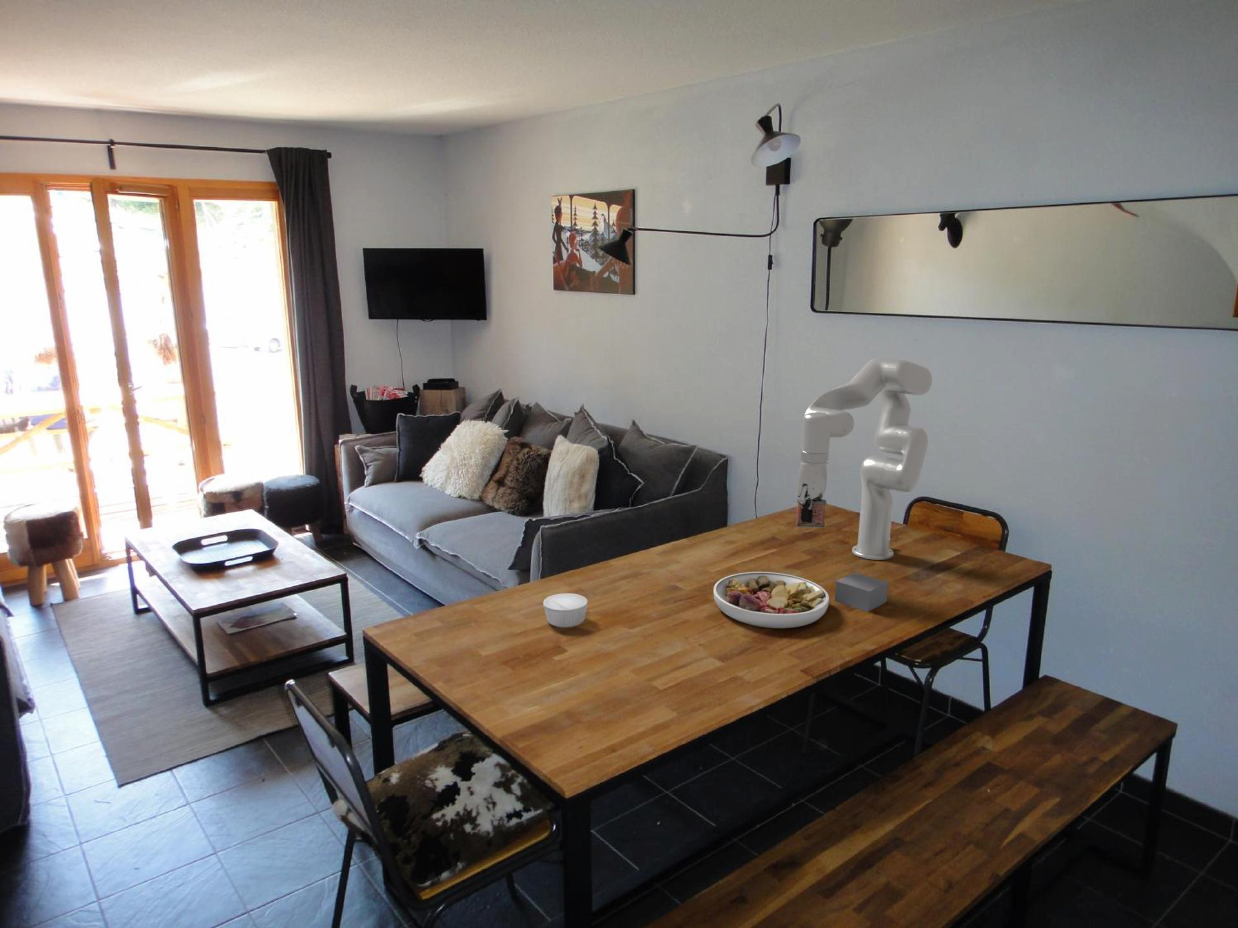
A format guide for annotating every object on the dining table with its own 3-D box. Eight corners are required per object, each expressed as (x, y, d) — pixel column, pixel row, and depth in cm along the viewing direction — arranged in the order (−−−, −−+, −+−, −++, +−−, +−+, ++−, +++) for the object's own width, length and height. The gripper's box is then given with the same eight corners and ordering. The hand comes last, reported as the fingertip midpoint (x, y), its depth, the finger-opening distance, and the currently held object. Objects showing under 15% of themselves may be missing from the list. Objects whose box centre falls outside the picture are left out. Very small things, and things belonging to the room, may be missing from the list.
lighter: (824, 524, 240) (826, 490, 237) (825, 528, 236) (827, 493, 234) (795, 523, 241) (797, 489, 238) (796, 526, 237) (798, 492, 235)
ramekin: (535, 625, 211) (535, 605, 210) (555, 608, 221) (555, 590, 220) (576, 632, 207) (576, 612, 206) (594, 615, 217) (594, 596, 216)
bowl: (745, 580, 244) (746, 554, 242) (844, 605, 227) (847, 577, 225) (692, 613, 220) (693, 585, 218) (799, 644, 203) (801, 613, 201)
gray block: (853, 592, 236) (855, 572, 234) (886, 602, 229) (888, 581, 227) (834, 601, 229) (836, 581, 227) (867, 612, 222) (869, 591, 220)
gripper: (814, 449, 243) (811, 510, 247) (788, 460, 230) (784, 524, 234) (839, 453, 238) (835, 515, 243) (814, 464, 225) (809, 529, 229)
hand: (810, 519), depth 238 cm, fingers closed on lighter, 4 cm apart
